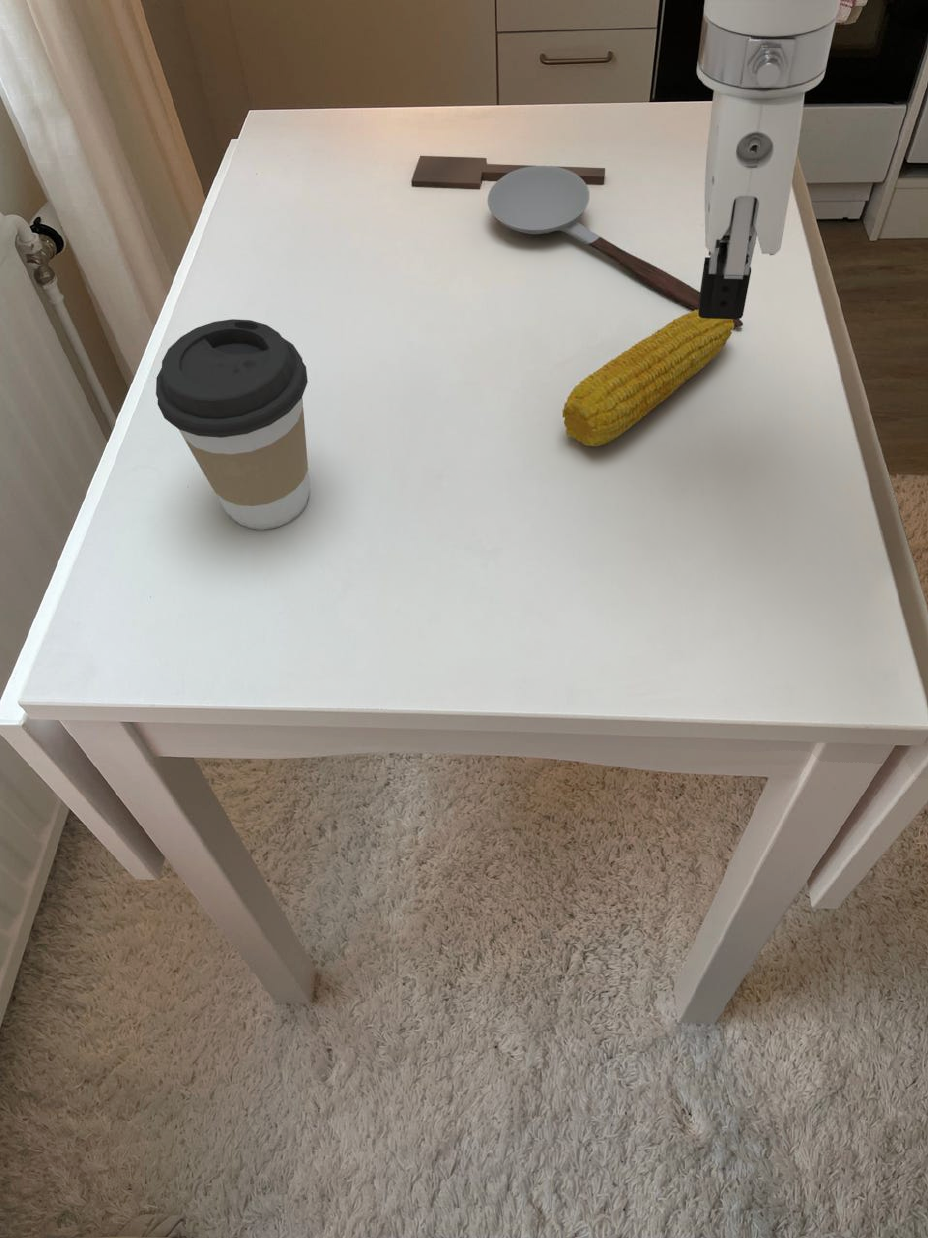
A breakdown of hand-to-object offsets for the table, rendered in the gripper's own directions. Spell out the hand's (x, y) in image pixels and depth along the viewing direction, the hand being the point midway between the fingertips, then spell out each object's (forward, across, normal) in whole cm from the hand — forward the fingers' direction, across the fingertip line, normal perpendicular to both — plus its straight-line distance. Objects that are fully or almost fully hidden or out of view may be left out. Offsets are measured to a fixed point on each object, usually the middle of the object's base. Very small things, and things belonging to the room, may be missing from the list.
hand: (719, 311), depth 71 cm
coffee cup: (+14, -9, +36) cm, 40 cm away
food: (+14, +8, +4) cm, 17 cm away
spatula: (+13, +44, +22) cm, 51 cm away
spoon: (+14, +28, +9) cm, 32 cm away
